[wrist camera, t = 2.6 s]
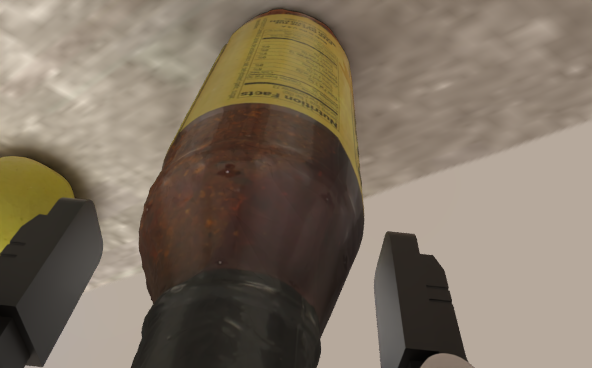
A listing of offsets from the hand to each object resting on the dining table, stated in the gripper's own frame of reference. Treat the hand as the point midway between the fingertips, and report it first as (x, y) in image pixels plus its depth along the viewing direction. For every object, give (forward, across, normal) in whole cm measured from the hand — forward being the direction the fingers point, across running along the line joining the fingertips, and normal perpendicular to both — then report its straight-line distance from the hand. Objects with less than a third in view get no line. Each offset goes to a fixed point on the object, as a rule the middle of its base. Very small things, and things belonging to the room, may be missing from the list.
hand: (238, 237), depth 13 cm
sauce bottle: (+13, 0, 0) cm, 13 cm away
